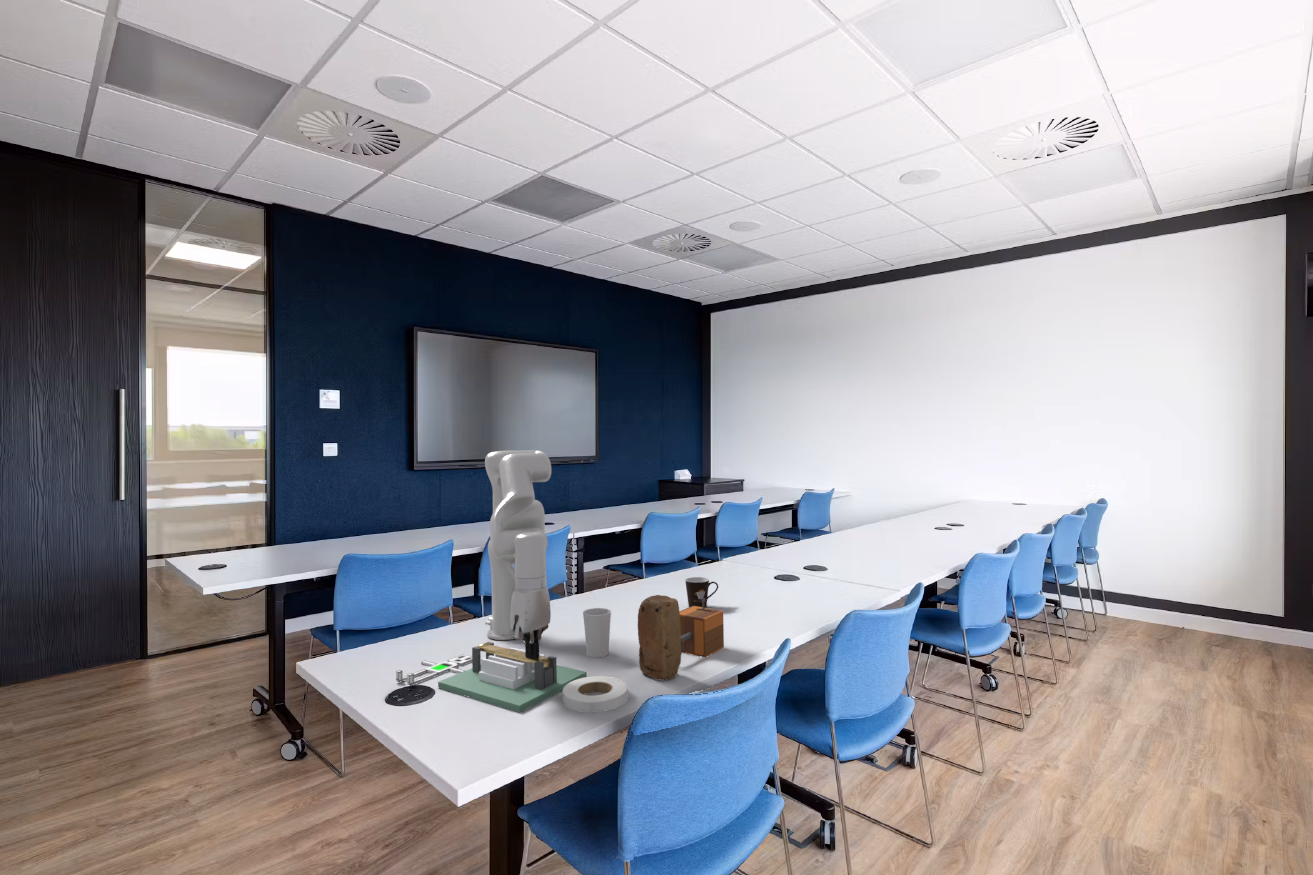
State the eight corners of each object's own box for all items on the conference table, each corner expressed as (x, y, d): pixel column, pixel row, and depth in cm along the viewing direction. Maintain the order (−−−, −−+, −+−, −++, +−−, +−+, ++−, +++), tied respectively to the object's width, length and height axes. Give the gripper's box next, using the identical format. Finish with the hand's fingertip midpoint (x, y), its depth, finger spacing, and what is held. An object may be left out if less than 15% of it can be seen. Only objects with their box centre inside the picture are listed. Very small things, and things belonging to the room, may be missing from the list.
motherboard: (438, 687, 159) (437, 656, 159) (509, 658, 179) (508, 631, 179) (519, 712, 144) (518, 678, 144) (586, 677, 164) (586, 647, 164)
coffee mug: (684, 610, 227) (683, 582, 227) (687, 603, 235) (686, 576, 235) (717, 611, 225) (716, 582, 225) (718, 604, 233) (718, 577, 233)
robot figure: (424, 692, 157) (490, 664, 176) (424, 678, 157) (490, 652, 176) (382, 680, 166) (449, 654, 185) (382, 667, 166) (449, 643, 185)
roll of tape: (594, 719, 140) (594, 706, 140) (549, 701, 150) (549, 689, 150) (641, 697, 152) (641, 685, 152) (596, 682, 162) (596, 670, 162)
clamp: (654, 661, 176) (653, 609, 176) (693, 641, 192) (692, 594, 192) (686, 668, 169) (685, 614, 169) (724, 648, 185) (723, 598, 185)
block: (684, 675, 164) (683, 598, 164) (664, 684, 158) (662, 604, 159) (654, 666, 171) (652, 591, 171) (634, 673, 166) (632, 597, 166)
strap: (476, 652, 166) (476, 645, 166) (485, 649, 169) (485, 641, 169) (541, 668, 154) (541, 660, 154) (549, 664, 157) (549, 656, 157)
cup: (607, 659, 177) (606, 616, 177) (580, 657, 179) (579, 614, 179) (614, 649, 185) (614, 608, 185) (588, 648, 187) (587, 607, 187)
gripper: (540, 576, 166) (542, 647, 166) (497, 587, 153) (499, 664, 153) (562, 578, 162) (564, 651, 162) (520, 590, 149) (521, 669, 149)
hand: (532, 657), depth 157 cm, fingers closed
